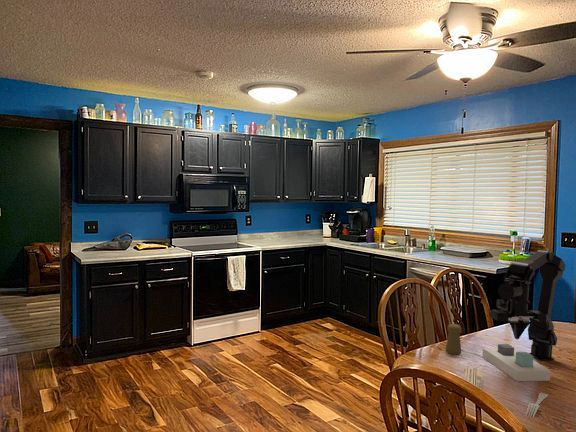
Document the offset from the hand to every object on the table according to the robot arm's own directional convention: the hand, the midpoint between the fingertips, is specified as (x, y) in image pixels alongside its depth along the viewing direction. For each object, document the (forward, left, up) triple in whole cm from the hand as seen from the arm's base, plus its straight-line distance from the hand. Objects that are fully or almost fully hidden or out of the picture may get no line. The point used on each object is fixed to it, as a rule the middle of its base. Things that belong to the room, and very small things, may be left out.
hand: (516, 338), depth 160 cm
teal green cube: (0, +4, -8) cm, 9 cm away
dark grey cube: (0, -7, -9) cm, 11 cm away
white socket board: (0, -1, -11) cm, 11 cm away
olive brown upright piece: (+15, -18, -12) cm, 26 cm away
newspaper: (+21, +11, -12) cm, 27 cm away
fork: (+10, +26, -12) cm, 30 cm away
